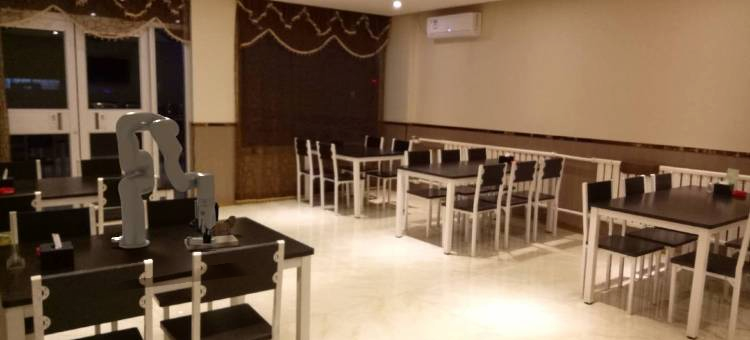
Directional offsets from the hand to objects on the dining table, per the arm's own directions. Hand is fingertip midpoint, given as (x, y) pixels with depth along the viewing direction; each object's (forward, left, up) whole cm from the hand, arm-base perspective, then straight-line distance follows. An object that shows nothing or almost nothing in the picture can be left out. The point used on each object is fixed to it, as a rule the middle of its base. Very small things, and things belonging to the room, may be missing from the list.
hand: (207, 243), depth 248 cm
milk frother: (+4, +47, -4) cm, 47 cm away
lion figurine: (+12, +28, -4) cm, 31 cm away
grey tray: (+4, +11, -4) cm, 12 cm away
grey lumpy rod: (-2, +5, -1) cm, 5 cm away
